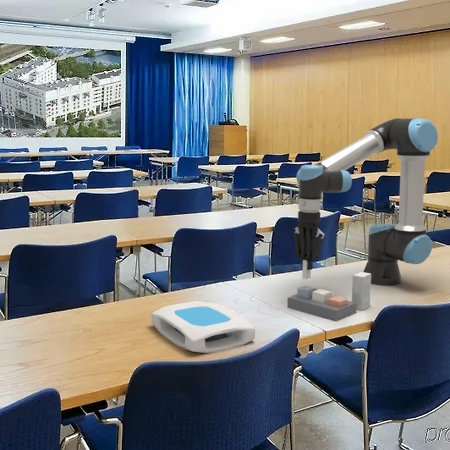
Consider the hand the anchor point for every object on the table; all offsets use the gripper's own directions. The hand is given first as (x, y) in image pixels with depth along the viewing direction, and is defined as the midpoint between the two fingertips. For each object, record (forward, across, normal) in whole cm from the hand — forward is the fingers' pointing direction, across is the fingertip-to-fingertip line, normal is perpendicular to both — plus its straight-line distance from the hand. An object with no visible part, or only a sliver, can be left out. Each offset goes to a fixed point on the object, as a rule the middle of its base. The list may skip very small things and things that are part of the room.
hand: (306, 278), depth 208 cm
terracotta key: (+9, +13, 0) cm, 16 cm away
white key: (+8, +6, 0) cm, 10 cm away
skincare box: (+10, +14, +12) cm, 22 cm away
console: (+10, +6, 0) cm, 12 cm away
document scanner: (+11, -6, -45) cm, 46 cm away
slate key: (+8, 0, 0) cm, 8 cm away
